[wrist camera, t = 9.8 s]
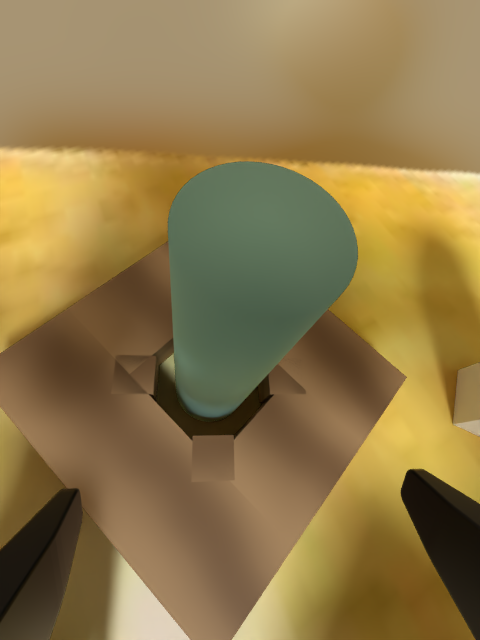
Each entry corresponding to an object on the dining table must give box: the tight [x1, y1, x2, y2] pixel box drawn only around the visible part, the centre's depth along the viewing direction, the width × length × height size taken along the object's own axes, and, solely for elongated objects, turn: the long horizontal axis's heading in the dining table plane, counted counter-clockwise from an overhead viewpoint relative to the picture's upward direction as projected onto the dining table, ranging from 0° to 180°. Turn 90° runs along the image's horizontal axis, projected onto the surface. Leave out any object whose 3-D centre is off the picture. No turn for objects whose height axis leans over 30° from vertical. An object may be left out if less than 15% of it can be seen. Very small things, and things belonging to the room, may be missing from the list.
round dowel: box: [168, 162, 358, 422], centre depth 13 cm, size 4×4×14 cm
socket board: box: [0, 242, 407, 640], centre depth 18 cm, size 16×16×2 cm
